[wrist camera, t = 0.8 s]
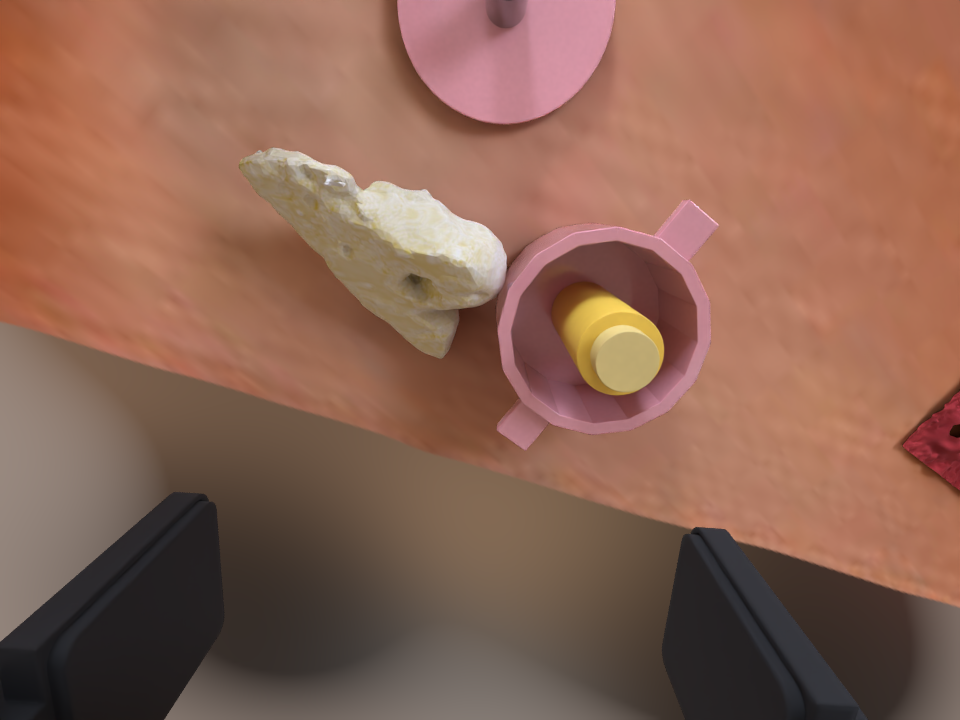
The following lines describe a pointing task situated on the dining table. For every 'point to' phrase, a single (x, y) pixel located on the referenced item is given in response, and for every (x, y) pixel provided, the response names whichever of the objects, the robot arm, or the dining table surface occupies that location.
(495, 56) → the lid
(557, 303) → the yellow stepped cylinder
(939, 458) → the plate with food
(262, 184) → the cheese
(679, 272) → the pot
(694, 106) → the dining table surface
